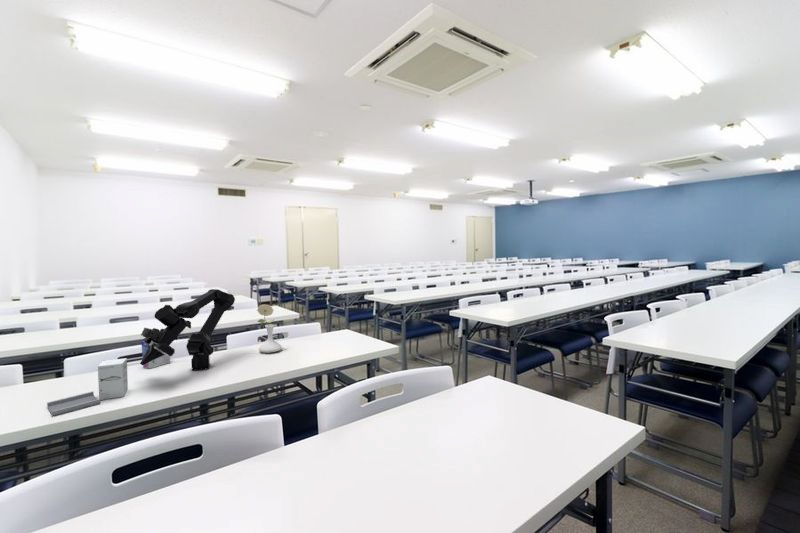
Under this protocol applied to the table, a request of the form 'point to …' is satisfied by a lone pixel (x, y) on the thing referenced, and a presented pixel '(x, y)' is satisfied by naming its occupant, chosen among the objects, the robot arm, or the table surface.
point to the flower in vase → (270, 343)
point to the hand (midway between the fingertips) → (141, 364)
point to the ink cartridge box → (155, 362)
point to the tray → (72, 403)
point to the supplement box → (112, 378)
